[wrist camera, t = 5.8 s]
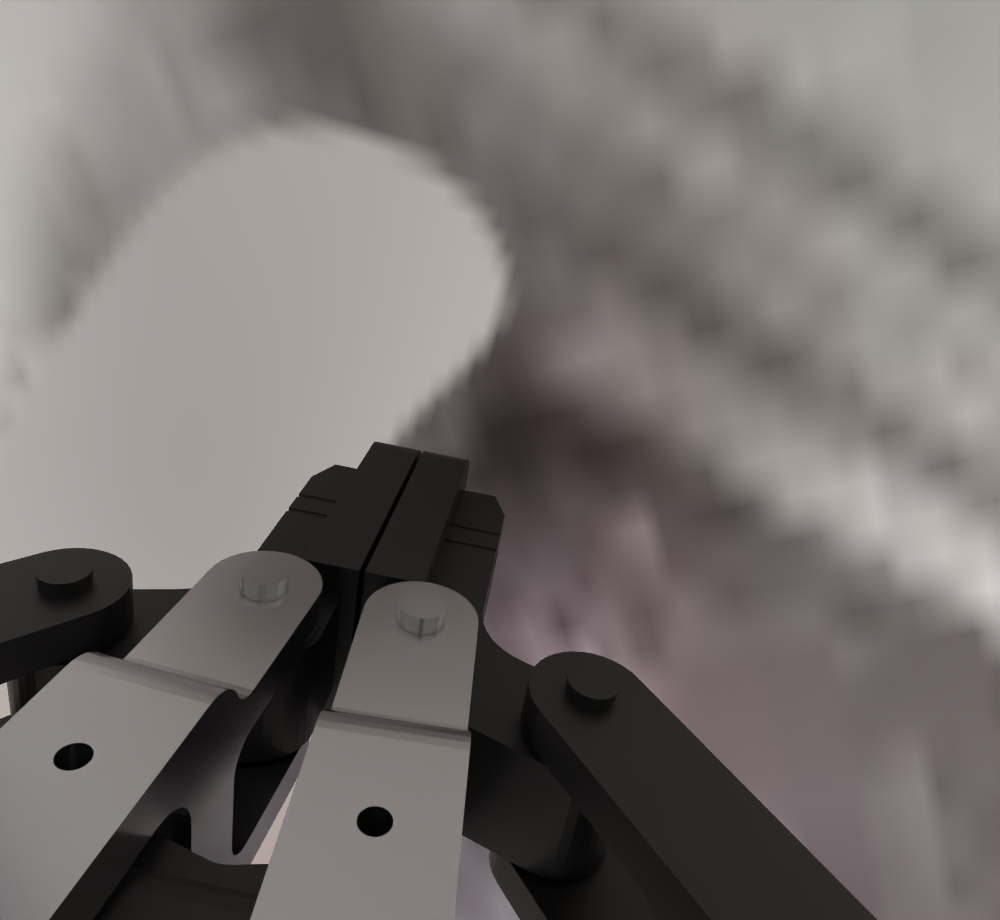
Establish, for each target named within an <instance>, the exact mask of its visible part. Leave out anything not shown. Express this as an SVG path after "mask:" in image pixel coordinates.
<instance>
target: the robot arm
mask: <svg viewBox="0 0 1000 920" xmlns="http://www.w3.org/2000/svg"><path fill="white" fill-rule="evenodd" d="M468 467H469V460H465V459H460V458H455V457H450V456H445V455H440V454H435V453H430V452H425V451H424V452H423V453H422V455H421V451H420V450H415V449H410V448H405V447H400V446H395V445H390V444H385V443H380V442H374V443H373V445H372V446H371V448H370V449H369V451H368V453H367V454H366V456H365V457H364V459H363V460H362V462H361V464H360V465H359V467H358V468H357V469H354V468H350V467H345V466H340V465H334V466H332V467H330V468H328V469H326V470H324V471H322V472H320V473H318V474H316V475H314V476H312V477H311V478H310V480H309V481H308V482H307V484H306V485H305V487H304V488H303V489H302V491H301V492H300V493H299V497H297V498H296V499H295V500H294V502H293V503H292V504H291V506H290V507H289V511H286V512H285V514H284V515H283V517H282V518H281V519H280V521H279V522H278V523H277V525H276V526H275V527H274V529H273V530H272V532H271V533H270V534H269V536H268V537H267V538H266V540H265V541H264V542H263V544H262V545H261V547H260V548H259V549H258V551H253V552H246V553H240V554H237V555H234V556H231V557H228V558H226V559H224V560H222V561H220V562H219V563H217V564H216V565H214V566H213V567H212V568H211V569H210V570H209V571H208V572H207V573H206V574H205V575H204V576H203V577H202V578H201V579H200V580H199V581H198V582H197V583H196V584H195V586H194V587H193V588H190V589H166V590H165V589H149V590H148V589H142V590H141V589H137V590H136V589H133V583H132V572H131V569H130V567H129V566H128V564H127V563H126V562H124V561H123V560H122V559H121V558H119V557H117V556H115V555H113V554H110V553H108V552H104V551H100V550H95V549H86V548H68V549H60V550H53V551H48V552H43V553H39V554H35V555H32V556H28V557H24V558H21V559H17V560H13V561H9V562H6V563H2V564H0V684H2V683H6V682H7V687H8V695H9V703H10V711H11V715H9V716H6V717H4V718H2V719H0V920H454V911H455V901H456V891H457V880H458V870H459V859H460V849H461V839H462V835H463V836H465V837H467V838H469V839H471V840H472V841H474V842H476V843H478V844H480V845H481V846H483V847H485V848H487V849H489V850H490V853H489V860H490V867H491V870H492V873H493V875H494V877H495V879H496V881H497V883H498V885H499V886H500V888H501V890H502V891H503V893H504V894H505V896H506V898H507V899H508V901H509V902H510V904H511V906H512V907H513V909H514V911H515V912H516V914H517V915H518V917H519V919H520V920H877V919H876V918H875V917H874V916H873V915H872V914H871V913H870V912H869V911H868V910H867V909H866V908H865V907H864V906H863V905H862V904H861V903H860V902H859V901H858V900H857V899H856V898H855V897H854V896H853V895H852V894H851V893H850V892H849V891H848V890H847V889H846V888H845V887H844V886H843V885H842V884H841V883H840V882H839V881H838V880H837V879H836V878H835V877H834V876H833V875H832V874H831V873H830V872H829V871H828V870H827V869H826V868H825V867H824V866H823V865H822V864H821V863H820V862H819V861H818V860H817V859H816V858H815V857H814V856H813V855H812V854H811V853H810V852H809V851H808V849H807V848H806V847H805V846H804V845H803V844H802V843H801V842H800V841H799V840H798V839H797V838H796V837H795V836H794V835H793V834H792V833H791V832H790V831H789V830H788V829H787V828H786V827H785V826H784V825H783V824H782V823H781V822H780V821H779V820H778V819H777V818H776V817H775V816H774V815H773V814H772V813H771V812H770V811H769V810H768V809H767V808H766V807H765V806H764V805H763V804H762V803H761V802H760V801H759V800H758V799H757V798H756V797H755V796H754V795H753V794H752V793H751V792H750V791H749V790H748V789H747V788H746V787H745V786H744V785H743V784H742V783H741V782H740V781H739V780H738V779H737V778H736V777H735V776H734V775H733V774H732V773H731V772H730V771H729V770H728V769H727V768H726V767H725V766H724V765H723V764H722V763H721V762H720V761H719V760H718V759H717V758H716V757H715V756H714V755H713V754H712V752H711V751H710V750H709V749H708V748H707V747H706V746H705V745H704V744H703V743H702V742H701V741H700V740H699V739H698V738H697V737H696V736H695V735H694V734H693V733H692V732H691V731H690V730H689V729H688V728H687V727H686V726H685V725H684V724H683V723H682V722H681V721H680V720H679V719H678V718H677V717H676V716H675V715H674V714H673V713H672V712H671V711H670V710H669V709H668V708H667V707H666V706H665V705H664V704H663V703H662V702H661V701H660V700H659V699H658V698H657V697H656V696H655V695H654V694H653V693H652V692H651V691H650V690H649V689H648V688H647V687H646V686H645V685H644V684H643V683H642V682H641V681H640V680H639V679H638V678H637V677H636V676H635V675H634V674H633V673H632V672H630V671H629V670H628V669H626V668H625V667H623V666H622V665H620V664H618V663H616V662H614V661H613V660H610V659H608V658H605V657H603V656H599V655H596V654H591V653H586V652H574V651H573V652H562V653H557V654H553V655H551V656H548V657H546V658H544V659H543V660H541V661H540V662H539V663H538V664H537V665H535V667H534V666H532V665H530V664H527V663H525V662H523V661H521V660H519V659H517V658H515V657H513V656H512V655H510V654H509V653H507V652H506V651H504V650H503V649H502V648H500V647H499V646H498V645H497V644H496V643H495V642H494V641H493V640H492V638H491V637H490V636H489V634H488V633H487V631H486V629H485V626H484V624H483V621H484V616H485V612H486V607H487V603H488V598H489V594H490V588H491V583H492V578H493V573H494V568H495V562H496V557H497V552H498V547H499V542H500V536H501V531H502V526H503V521H504V516H505V515H504V513H503V511H502V509H501V508H500V506H499V504H498V502H497V500H496V498H495V496H490V495H485V494H480V493H475V492H470V491H465V487H466V481H467V475H468ZM311 735H312V736H311ZM310 737H311V739H310ZM309 741H310V742H309ZM296 779H297V782H296V784H295V787H294V790H293V794H292V796H291V799H290V802H289V806H288V808H287V811H286V814H285V817H284V820H283V823H282V826H281V829H280V832H279V835H278V838H277V841H276V844H275V847H274V850H273V853H272V856H271V859H270V862H269V864H253V865H252V864H251V862H252V860H253V859H254V857H255V855H256V853H257V851H258V849H259V848H260V846H261V844H262V842H263V840H264V838H265V836H266V835H267V833H268V831H269V829H270V827H271V825H272V824H273V822H274V820H275V818H276V816H277V814H278V812H279V811H280V809H281V807H282V805H283V803H284V802H285V800H286V798H287V796H288V794H289V792H290V791H291V788H292V787H293V785H294V783H295V781H296Z"/></svg>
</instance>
